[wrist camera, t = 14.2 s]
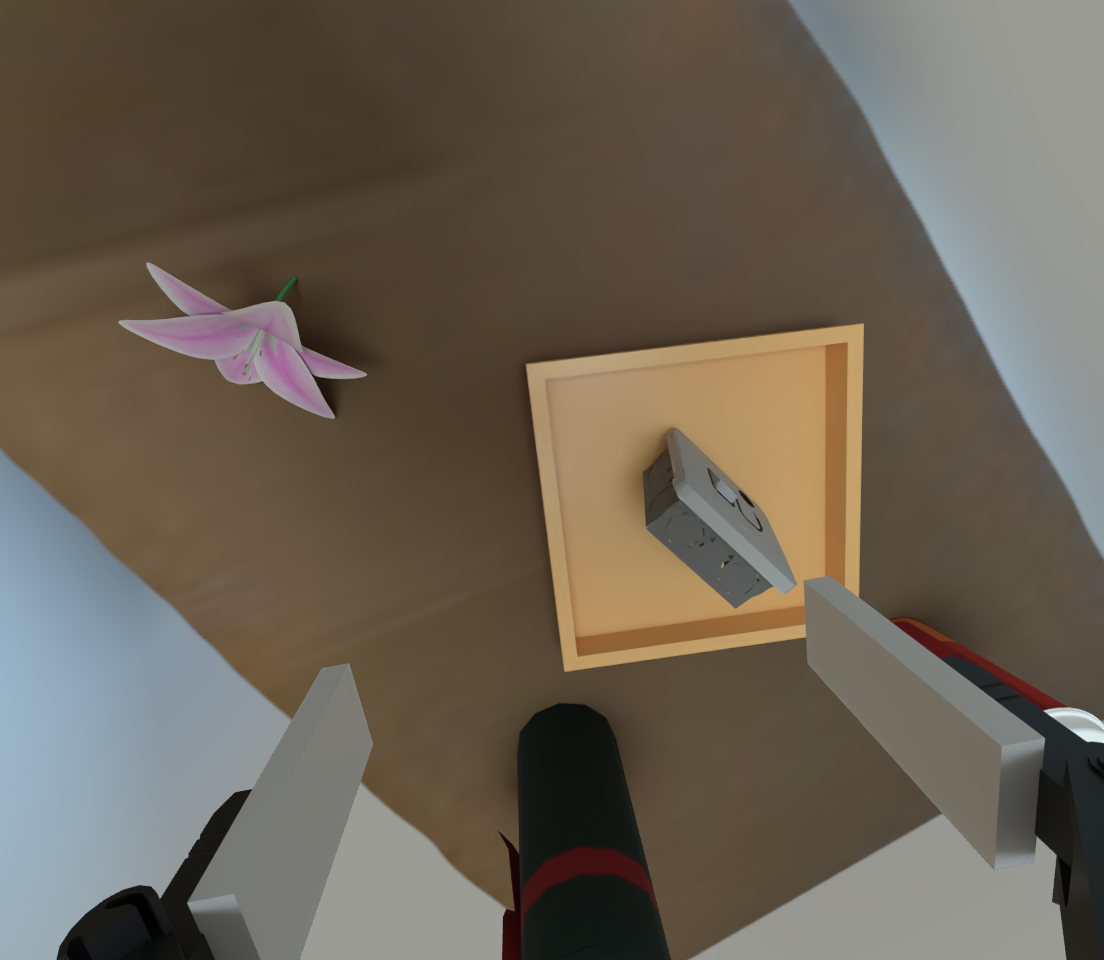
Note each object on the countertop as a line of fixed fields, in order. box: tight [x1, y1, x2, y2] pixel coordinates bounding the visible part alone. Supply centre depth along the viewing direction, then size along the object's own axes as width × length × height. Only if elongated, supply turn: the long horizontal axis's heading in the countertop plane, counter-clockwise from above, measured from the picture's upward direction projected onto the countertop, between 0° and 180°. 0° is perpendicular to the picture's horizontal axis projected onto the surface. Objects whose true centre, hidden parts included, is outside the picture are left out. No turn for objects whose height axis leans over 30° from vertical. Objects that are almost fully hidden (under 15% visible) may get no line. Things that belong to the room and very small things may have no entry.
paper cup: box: [889, 618, 1104, 743], centre depth 37 cm, size 8×8×14 cm
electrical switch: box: [643, 428, 797, 609], centre depth 34 cm, size 9×5×9 cm, turn 47°
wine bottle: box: [498, 703, 671, 960], centre depth 29 cm, size 8×10×30 cm
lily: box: [119, 262, 367, 419], centre depth 32 cm, size 12×12×10 cm
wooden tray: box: [525, 324, 864, 672], centre depth 38 cm, size 21×21×4 cm
